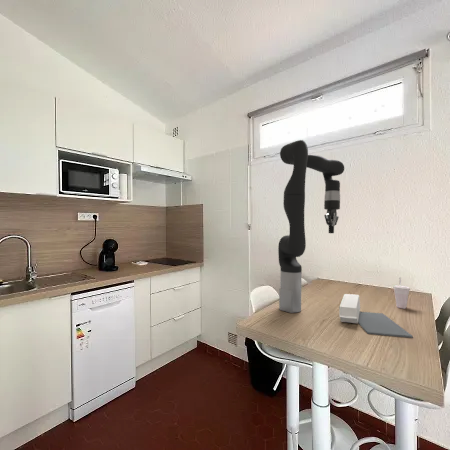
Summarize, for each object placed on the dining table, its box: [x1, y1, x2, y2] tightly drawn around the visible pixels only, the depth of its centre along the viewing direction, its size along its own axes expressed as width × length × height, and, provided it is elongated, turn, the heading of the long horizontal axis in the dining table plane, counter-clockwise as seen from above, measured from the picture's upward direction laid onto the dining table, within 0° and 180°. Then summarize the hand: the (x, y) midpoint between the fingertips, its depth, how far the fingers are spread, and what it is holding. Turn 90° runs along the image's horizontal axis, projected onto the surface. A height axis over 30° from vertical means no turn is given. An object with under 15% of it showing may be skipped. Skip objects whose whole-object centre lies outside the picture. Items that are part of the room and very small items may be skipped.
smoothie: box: [392, 276, 411, 310], centre depth 113 cm, size 6×6×14 cm
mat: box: [357, 311, 414, 339], centre depth 93 cm, size 22×14×1 cm, turn 169°
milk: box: [338, 293, 361, 324], centre depth 100 cm, size 6×6×22 cm
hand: (331, 233), depth 125 cm, fingers closed
